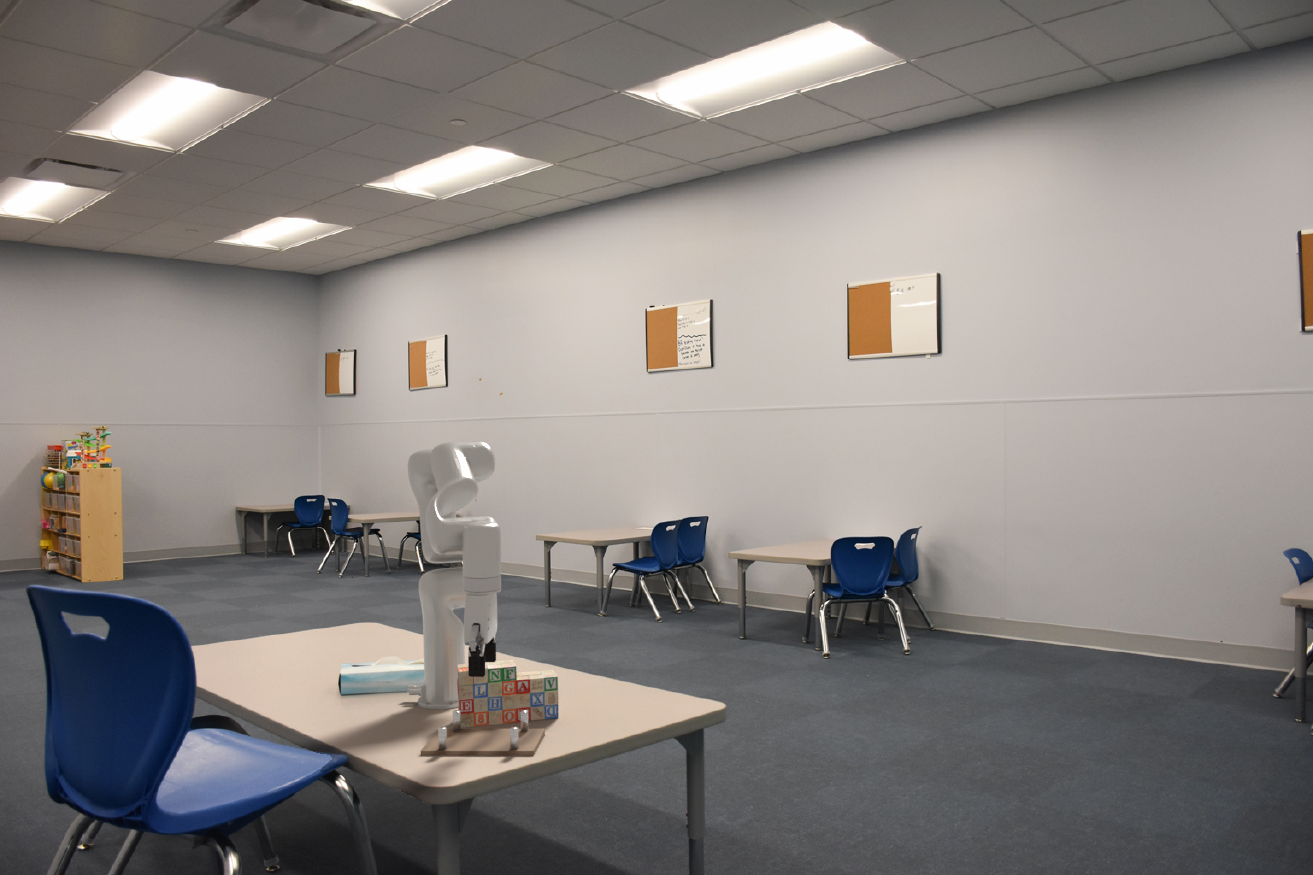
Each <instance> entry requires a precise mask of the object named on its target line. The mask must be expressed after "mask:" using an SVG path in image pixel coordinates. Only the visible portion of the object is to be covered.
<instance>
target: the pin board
mask: <svg viewBox="0 0 1313 875" xmlns="http://www.w3.org/2000/svg"><path fill="white" fill-rule="evenodd" d="M519 724H520V726H519V727H520V728H519V727H518V726H511V727H510V728H462V727H461V711H460V710H458V709H456V710H452V728H448V727H447V726H440V727H438V729H437V731H436V732H435V733H434V735H433V736H432V737H431V738H430V739H429V740H428V741H427V743H426V744H425V745H424V746H423V747H422V749H420V756H478V757H479V756H480V757H481V756H492V757H494V756H497V757H498V756H501V757H502V756H505V757H507V756H510V757H514V756H515V757H516V756H527V757H529V756H531V757H534V756H535V755H536V754H537V752H538V749H539V748H540V745H541V744H542V742H543V740H544V738H545V736H546V728H529V721H528V710H521V711H520V722H519Z"/></svg>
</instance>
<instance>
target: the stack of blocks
mask: <svg viewBox="0 0 1313 875" xmlns="http://www.w3.org/2000/svg"><path fill="white" fill-rule="evenodd" d="M558 681H559V678H558V674H557V673H556V672H555V670H554V669H546V670H532V671H523V672H522V671H521V672H517V665H516V663H515V662H514V660H513V659H509V660H508V659H507V660H505V659H504V660H496V661H495V662H485V676H484V677H470V676H469V675H468V663H465V664H459V665H458V679H457V686H458V687H457V688H458V705H459V706H458V709H457V710H460V711H461V728H467V727H468V728H469V727H481V726H491V725H493V726H494V725H502V724H510V723H520V711H521V710H528V722H529V721H531V722H532V721H540V720H550V719H558V718H559V682H558Z"/></svg>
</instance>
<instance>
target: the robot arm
mask: <svg viewBox="0 0 1313 875" xmlns="http://www.w3.org/2000/svg"><path fill="white" fill-rule="evenodd" d="M495 468H496V458H495V454H494V451H493V449H492V447H491V446H490V445H489V444H488V443H487V442H484V441H453V442H452V441H449V442H442V443H440V444H438V445H436V446H435V447H433V448H429V449H421V450H417V451H414V452H413V453H412V454H411V455H410V456H409V457H408V460H407V476H408V481H409V485H410V488H411V491H412V493H413V495H414V497H415V500H416V502H417V505H418V510H419V523H420V524H419V525H420V539H421V548H422V555H423V557H424V559H425V561H426V562H428V563H430V564H449V563H450V564H451V563H462V567H461V566H459V567H448V568H445V567H443V568H437V569H436V568H435V569H432V570H430V571H427V572H425V573H423V575H421V577H420V578H419V581H418V594H419V595H418V596H419V600H420V605H421V612H422V613H421V614H422V627H423V628H422V635H423V678H424V679H423V682H424V683H421V684H420V685H417V684H407V686H406V692H407V694H408V695H409V696H419V697H418V699H417V705H418V707H420V708H421V709H427V710H428V709H429V710H450V709H457V708H458V706H459V705H458V688H457V687H458V686H457V679H458V665H459V664H466V645H469V646H468V653H467V654H468V655H467V656H468V659H467V660H468V661H467V662H468V663H467V664H468V675H469V676H470V677H484V676H485V662H495V661H497V642H496V640H497V638H496V634H497V632H498V631H497V630H498V599H497V598H498V596H497V595H498V593H501V592H502V543H501V542H502V541H501V540H502V534H501V533H502V530H501V527H500V525H499V523H497V521H496V519H494V518H493V517H491V516H482V515H481V516H480V515H479V516H460V517H457V514H456V512H458V511H460V510H461V509H464V508H466V507H467V506H469V505H471V503H473V502H474V501H475V500H476V498H477V497H478V493H479V486H478V483H480V482H483V481H485V480H487V479H489V478H491V477H492V475H493V474H494V472H495ZM462 608H463V609H464V612H463V613H464V614H463V622H462V620H461V619H460V618H459V617H458V616H457V615H456V613H454V610H456V609H462Z"/></svg>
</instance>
